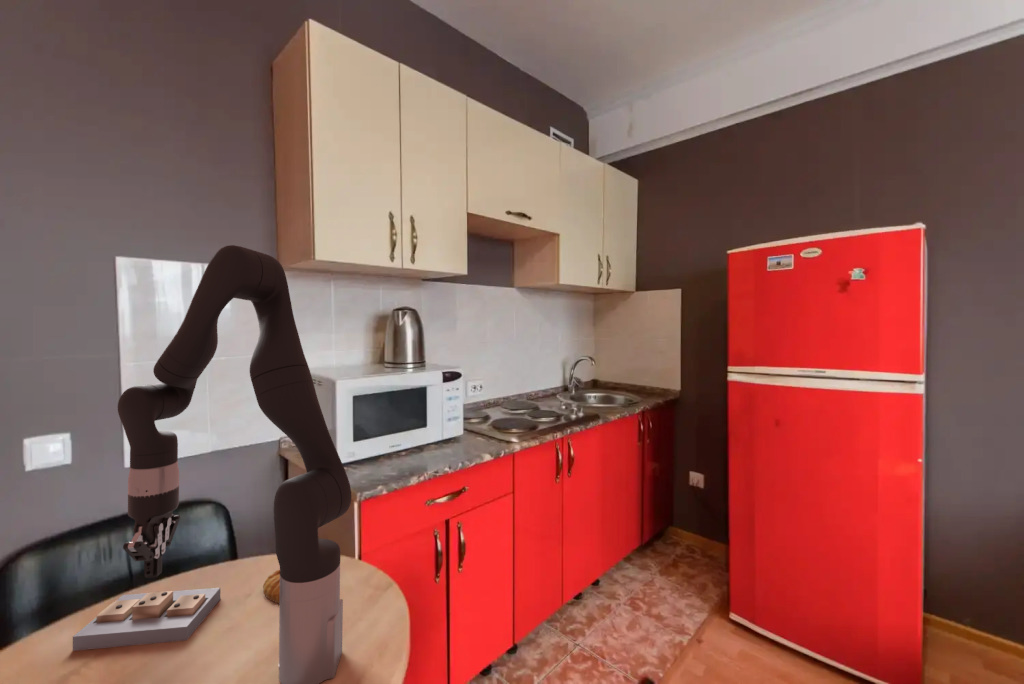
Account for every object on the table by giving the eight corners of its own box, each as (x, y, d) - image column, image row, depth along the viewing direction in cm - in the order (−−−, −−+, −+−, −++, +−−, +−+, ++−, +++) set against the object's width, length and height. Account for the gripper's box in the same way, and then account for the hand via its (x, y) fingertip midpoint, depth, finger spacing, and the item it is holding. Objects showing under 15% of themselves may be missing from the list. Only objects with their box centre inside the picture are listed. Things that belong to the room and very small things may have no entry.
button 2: (205, 606, 85) (205, 592, 85) (192, 620, 81) (192, 606, 81) (180, 608, 84) (181, 594, 84) (166, 622, 80) (167, 608, 80)
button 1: (140, 611, 83) (140, 597, 83) (123, 626, 79) (123, 612, 79) (114, 613, 82) (114, 599, 82) (96, 629, 78) (96, 614, 78)
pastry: (310, 595, 91) (310, 578, 91) (277, 611, 86) (277, 593, 86) (291, 579, 97) (291, 563, 97) (259, 593, 92) (259, 576, 92)
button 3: (173, 603, 84) (173, 589, 84) (158, 617, 80) (158, 603, 80) (148, 605, 83) (148, 591, 83) (132, 620, 79) (132, 605, 79)
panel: (220, 599, 89) (220, 587, 89) (186, 640, 77) (186, 626, 77) (123, 606, 86) (123, 594, 86) (72, 650, 74) (72, 636, 74)
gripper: (153, 499, 75) (152, 595, 76) (195, 474, 88) (194, 556, 89) (104, 501, 74) (104, 598, 74) (155, 476, 87) (154, 558, 87)
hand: (153, 575), depth 81 cm, fingers closed
